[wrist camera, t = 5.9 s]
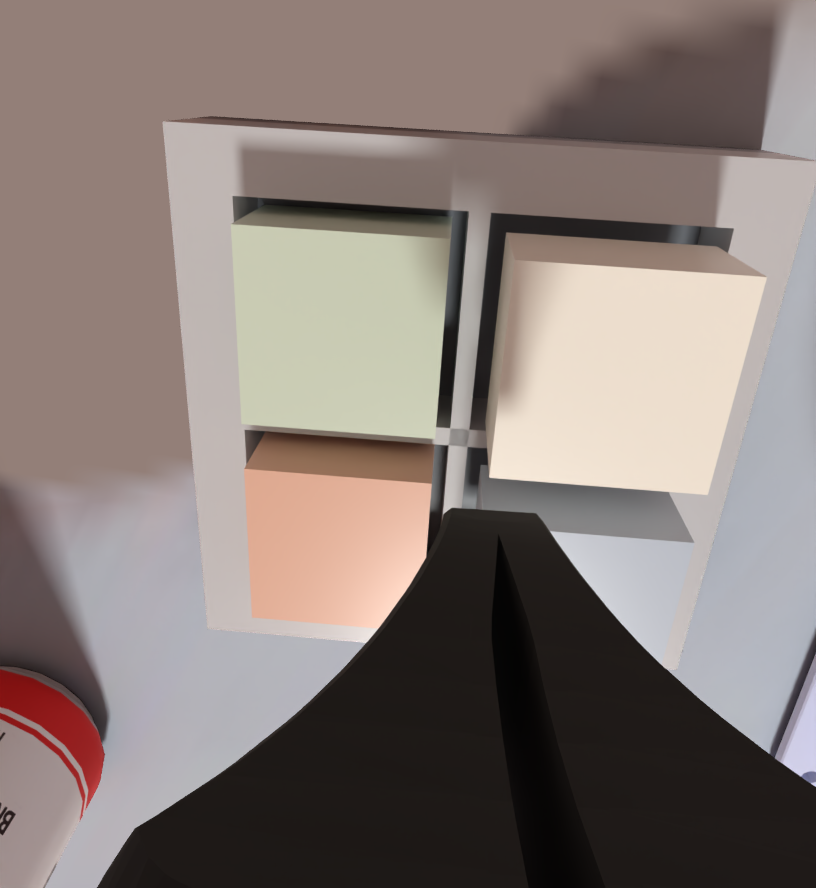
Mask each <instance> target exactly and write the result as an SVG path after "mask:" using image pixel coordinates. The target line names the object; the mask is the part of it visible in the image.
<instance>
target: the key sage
mask: <svg viewBox="0 0 816 888" xmlns="http://www.w3.org/2000/svg"><path fill="white" fill-rule="evenodd" d="M451 228H452V217H447V216H431V215H416V214H401V213H386V212H370V211H355V210H340V209H324V208H309V207H294V206H279V205H263V206H261V207H260V208H258V209H256V210H255V211H253V212H251V213H249V214H248V215H246V216H244V217H242V218H241V219H239V220H237V221H235V222H234V223H232V224H231V238H232V257H233V275H234V294H235V313H236V331H237V350H238V368H239V387H240V406H241V424H246V425H259V426H272V427H285V428H298V429H311V430H324V431H337V432H350V433H363V434H376V435H389V436H402V437H415V438H428V439H435V435H436V422H437V409H438V396H439V383H440V370H441V358H442V345H443V332H444V319H445V306H446V293H447V280H448V267H449V254H450V241H451Z"/></svg>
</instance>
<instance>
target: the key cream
mask: <svg viewBox="0 0 816 888" xmlns="http://www.w3.org/2000/svg"><path fill="white" fill-rule="evenodd" d="M766 280H767V277H766V276H765V275H763V274H761V273H760V272H758V271H756V270H755V269H753V268H752V267H750V266H748V265H747V264H745V263H743V262H742V261H740V260H738V259H737V258H735V257H734V256H732V255H730V254H729V253H727V252H725V251H724V250H722V249H720V248H719V247H717V246H704V245H688V244H673V243H658V242H643V241H628V240H613V239H598V238H583V237H567V236H552V235H537V234H522V233H507V232H506V238H505V247H504V256H503V266H502V275H501V284H500V293H499V302H498V311H497V320H496V329H495V338H494V347H493V357H492V366H491V375H490V384H489V393H488V402H487V411H486V420H485V424H486V439H487V453H488V468H489V478H498V479H511V480H524V481H536V482H549V483H562V484H574V485H587V486H600V487H612V488H625V489H638V490H651V491H663V492H676V493H689V494H701V495H708V492H709V489H710V485H711V481H712V478H713V474H714V470H715V467H716V463H717V459H718V456H719V452H720V448H721V445H722V441H723V437H724V434H725V430H726V426H727V423H728V419H729V415H730V412H731V408H732V404H733V401H734V397H735V393H736V390H737V386H738V382H739V379H740V375H741V371H742V368H743V364H744V360H745V357H746V353H747V349H748V346H749V342H750V338H751V335H752V331H753V327H754V324H755V320H756V316H757V313H758V309H759V305H760V302H761V298H762V294H763V291H764V287H765V283H766Z"/></svg>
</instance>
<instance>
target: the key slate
mask: <svg viewBox="0 0 816 888" xmlns="http://www.w3.org/2000/svg"><path fill="white" fill-rule="evenodd" d="M476 509H480V510H495V511H510V512H525V513H536V514H537V515H538V516H539V517H540V518H541V519H542V521H543V522H544V523H545V525H546V526H547V528H548V529H549V531H550V532H551V534H552V535H553V537H554V538H555V540H556V541H557V542H558V544H559V545H560V547H561V548H562V550H563V551H564V552H565V554H566V555H567V556H568V558H569V559H570V561H571V562H572V563H573V565H574V566H575V567H576V569H577V570H578V571H579V573H580V574H581V575H582V577H583V578H584V579H585V580H586V582H587V583H588V584H589V585H590V587H591V588H592V589H593V590H594V591H595V593H596V594H597V595H598V596H599V598H600V599H601V600H602V601H603V603H604V604H605V605H606V606H607V607H608V609H609V610H610V611H611V612H612V613H613V614H614V616H615V617H616V618H617V619H618V620H619V621H620V623H621V624H622V625H623V626H624V627H625V628H626V629H627V630H628V631H629V632H630V633H631V634H632V636H633V637H634V638H635V639H636V640H637V641H638V642H639V643H640V644H641V645H642V646H643V647H644V648H645V649H646V650H647V651H648V652H649V653H650V654H651V655H652V656H653V657H654V658H655V659H656V660H657V661H658V662H659V663H660V664H661V665H662V661H663V658H664V654H665V650H666V647H667V643H668V639H669V635H670V632H671V628H672V624H673V621H674V617H675V613H676V610H677V606H678V602H679V599H680V595H681V591H682V588H683V584H684V580H685V577H686V573H687V569H688V566H689V562H690V558H691V555H692V551H693V547H694V544H695V543H694V541H693V539H692V537H691V535H690V533H689V531H688V529H687V527H686V525H685V523H684V521H683V519H682V517H681V515H680V513H679V512H678V510H677V508H676V506H675V504H674V502H673V500H672V498H671V496H670V494H669V492H663V491H651V490H638V489H625V488H612V487H600V486H587V485H574V484H562V483H549V482H536V481H524V480H511V479H498V478H489V468H488V465H481V466H480V475H479V484H478V493H477V502H476Z"/></svg>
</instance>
